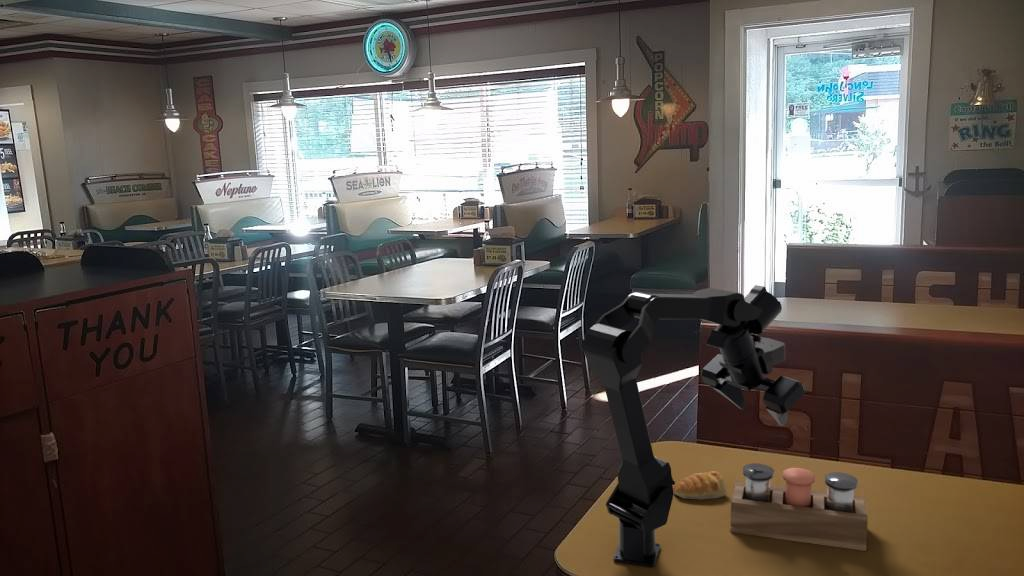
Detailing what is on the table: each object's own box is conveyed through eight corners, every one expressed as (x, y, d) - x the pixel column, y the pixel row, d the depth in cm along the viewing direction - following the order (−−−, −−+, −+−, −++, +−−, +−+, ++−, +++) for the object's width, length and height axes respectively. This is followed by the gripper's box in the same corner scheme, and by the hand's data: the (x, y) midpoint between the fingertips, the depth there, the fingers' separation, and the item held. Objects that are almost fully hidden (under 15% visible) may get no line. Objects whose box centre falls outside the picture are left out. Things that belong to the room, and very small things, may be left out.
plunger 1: (772, 509, 133) (773, 477, 132) (740, 505, 134) (741, 473, 133) (773, 496, 137) (774, 465, 136) (743, 492, 139) (744, 461, 138)
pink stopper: (813, 515, 130) (815, 482, 129) (781, 511, 132) (782, 478, 131) (813, 501, 135) (814, 469, 134) (782, 497, 137) (783, 466, 136)
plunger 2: (856, 520, 128) (858, 487, 127) (823, 516, 130) (824, 483, 129) (854, 506, 133) (856, 474, 132) (822, 502, 135) (824, 470, 133)
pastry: (682, 505, 144) (682, 486, 143) (666, 489, 151) (666, 471, 150) (729, 498, 146) (729, 478, 146) (711, 482, 153) (712, 464, 152)
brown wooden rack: (866, 550, 127) (867, 521, 126) (730, 531, 134) (730, 503, 133) (862, 524, 135) (864, 495, 134) (734, 507, 142) (735, 480, 141)
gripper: (813, 335, 131) (834, 403, 138) (727, 311, 147) (750, 373, 154) (771, 377, 128) (795, 445, 135) (687, 348, 143) (713, 410, 150)
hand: (763, 415), depth 143 cm, fingers open, 9 cm apart
